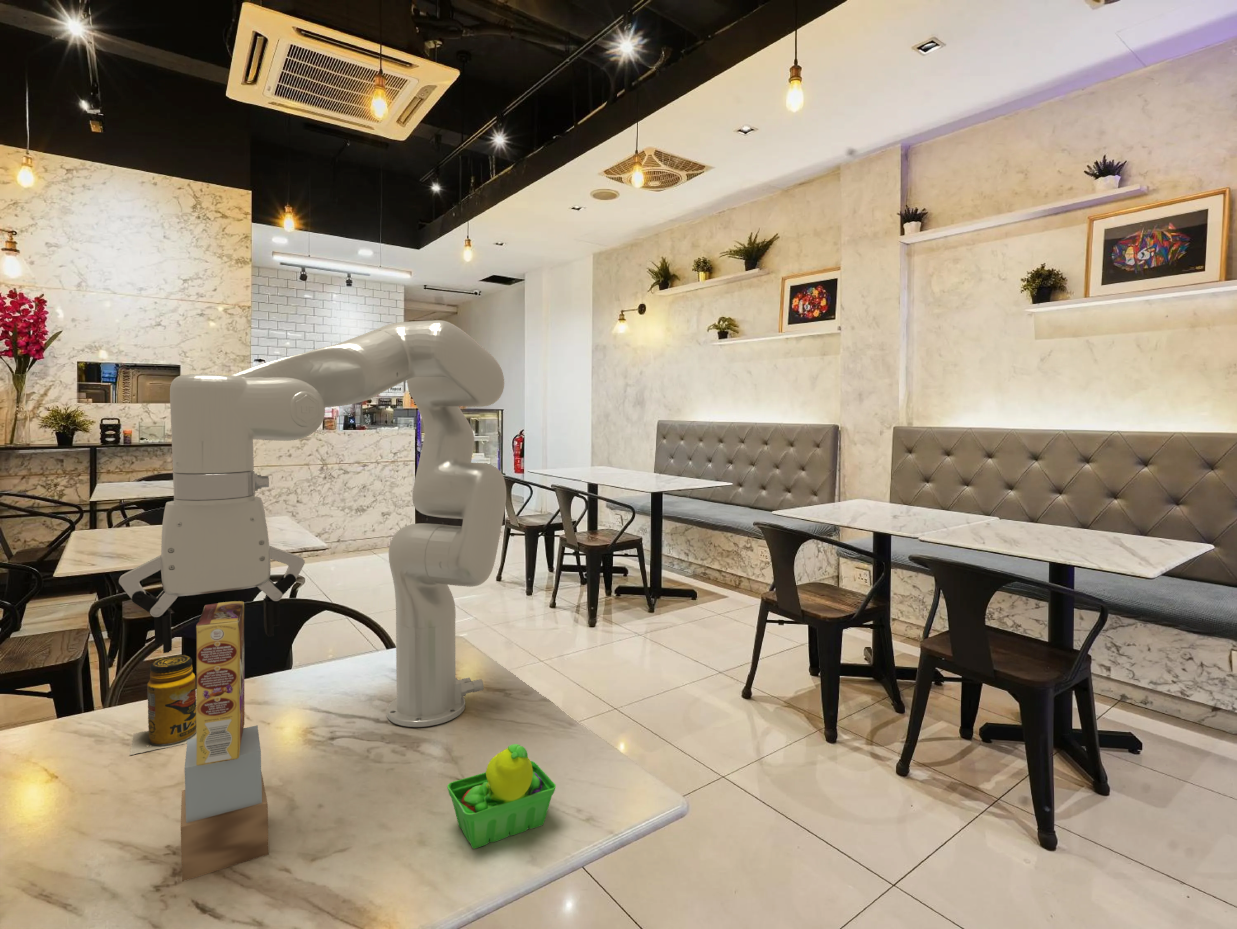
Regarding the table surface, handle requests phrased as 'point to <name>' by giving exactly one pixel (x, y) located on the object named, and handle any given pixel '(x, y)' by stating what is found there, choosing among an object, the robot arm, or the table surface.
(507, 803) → the fruit basket
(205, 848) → the walnut block
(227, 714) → the candy box
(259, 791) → the slate block
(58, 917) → the table surface
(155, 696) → the condiment
